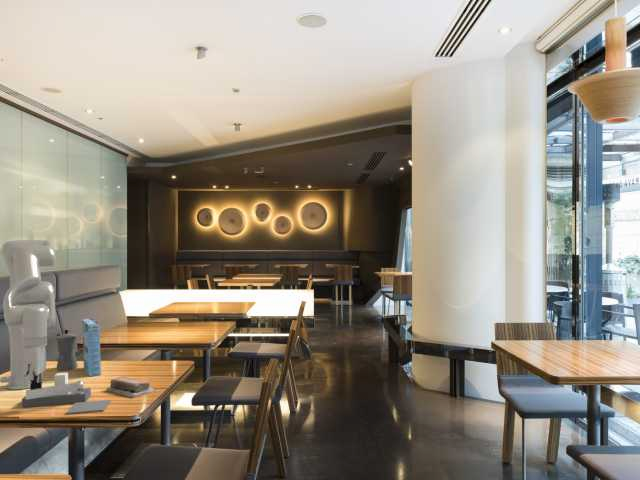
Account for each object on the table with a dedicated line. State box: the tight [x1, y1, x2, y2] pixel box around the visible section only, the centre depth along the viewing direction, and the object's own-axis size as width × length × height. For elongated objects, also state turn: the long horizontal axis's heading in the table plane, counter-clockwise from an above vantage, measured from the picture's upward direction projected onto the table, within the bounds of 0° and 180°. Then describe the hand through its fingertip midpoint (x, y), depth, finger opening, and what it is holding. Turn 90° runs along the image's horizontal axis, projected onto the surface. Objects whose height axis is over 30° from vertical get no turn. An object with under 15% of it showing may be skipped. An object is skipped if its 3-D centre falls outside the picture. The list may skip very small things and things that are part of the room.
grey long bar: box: [25, 380, 84, 400], centre depth 178 cm, size 18×2×3 cm, turn 125°
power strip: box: [21, 387, 92, 408], centre depth 184 cm, size 21×8×4 cm, turn 101°
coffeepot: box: [55, 329, 78, 372], centre depth 236 cm, size 15×9×18 cm, turn 54°
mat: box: [65, 399, 112, 415], centre depth 176 cm, size 12×11×1 cm
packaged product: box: [106, 376, 157, 399], centre depth 195 cm, size 18×5×10 cm
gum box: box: [81, 318, 102, 377], centre depth 227 cm, size 20×5×23 cm, turn 32°
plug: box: [51, 372, 71, 396], centre depth 184 cm, size 6×6×10 cm
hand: (36, 393), depth 177 cm, fingers closed
